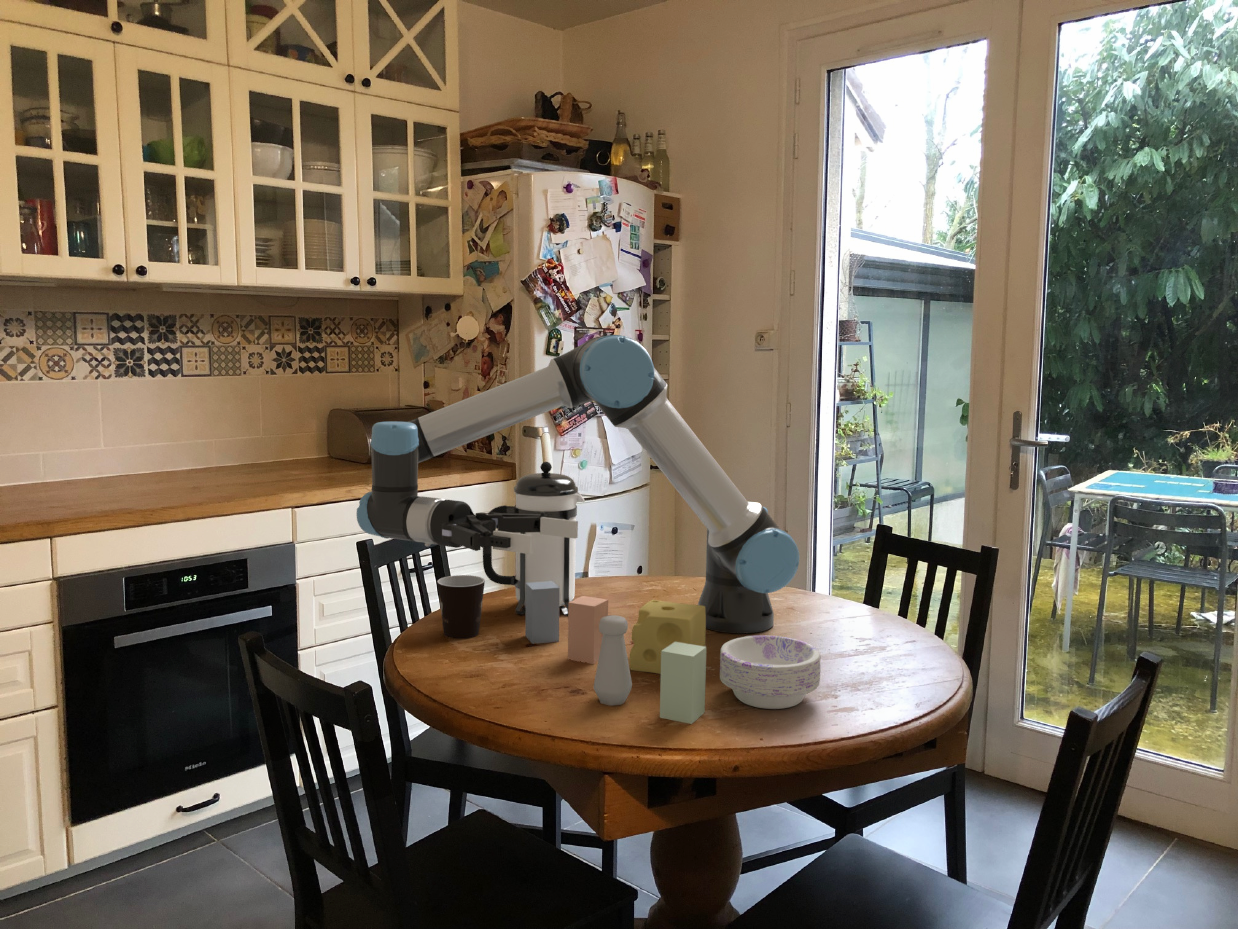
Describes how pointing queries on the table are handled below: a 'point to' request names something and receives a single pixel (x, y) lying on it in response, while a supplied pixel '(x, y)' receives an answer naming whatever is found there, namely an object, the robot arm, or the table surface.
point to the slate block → (542, 612)
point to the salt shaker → (613, 662)
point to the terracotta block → (585, 628)
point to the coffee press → (543, 536)
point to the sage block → (682, 682)
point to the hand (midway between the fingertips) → (555, 537)
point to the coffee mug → (461, 605)
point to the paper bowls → (770, 670)
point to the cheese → (664, 632)
